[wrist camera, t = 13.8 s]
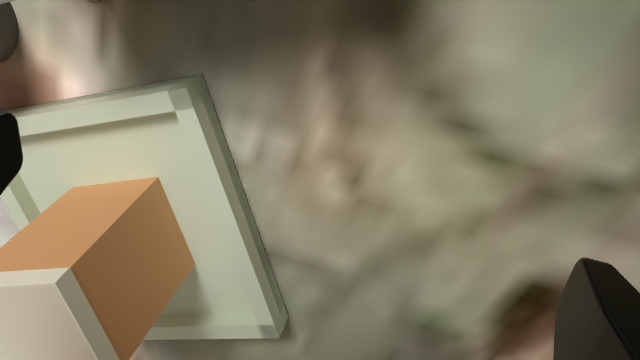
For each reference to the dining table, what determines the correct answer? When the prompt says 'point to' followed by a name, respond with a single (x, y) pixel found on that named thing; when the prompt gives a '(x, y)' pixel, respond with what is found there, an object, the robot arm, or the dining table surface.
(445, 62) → the dining table surface
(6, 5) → the dark rounded cylinder
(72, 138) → the tray
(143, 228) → the square block
